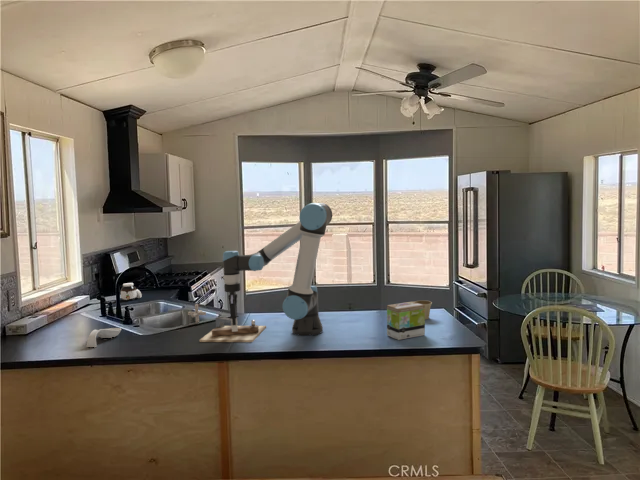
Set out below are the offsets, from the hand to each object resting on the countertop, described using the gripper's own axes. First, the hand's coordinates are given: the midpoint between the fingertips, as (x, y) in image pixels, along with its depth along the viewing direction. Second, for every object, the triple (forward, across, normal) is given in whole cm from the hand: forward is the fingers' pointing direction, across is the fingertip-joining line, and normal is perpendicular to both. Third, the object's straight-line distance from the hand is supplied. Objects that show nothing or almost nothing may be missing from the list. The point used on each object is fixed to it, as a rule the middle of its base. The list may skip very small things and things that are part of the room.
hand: (234, 331), depth 230 cm
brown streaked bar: (+2, -2, 0) cm, 3 cm away
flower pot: (+3, -14, +98) cm, 99 cm away
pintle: (-1, -3, +9) cm, 9 cm away
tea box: (+4, +15, +81) cm, 82 cm away
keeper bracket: (+2, -16, -6) cm, 17 cm away
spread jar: (+2, -114, -83) cm, 141 cm away
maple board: (+3, -6, -1) cm, 6 cm away
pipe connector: (+3, -35, -24) cm, 42 cm away
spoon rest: (+3, -10, -65) cm, 66 cm away
